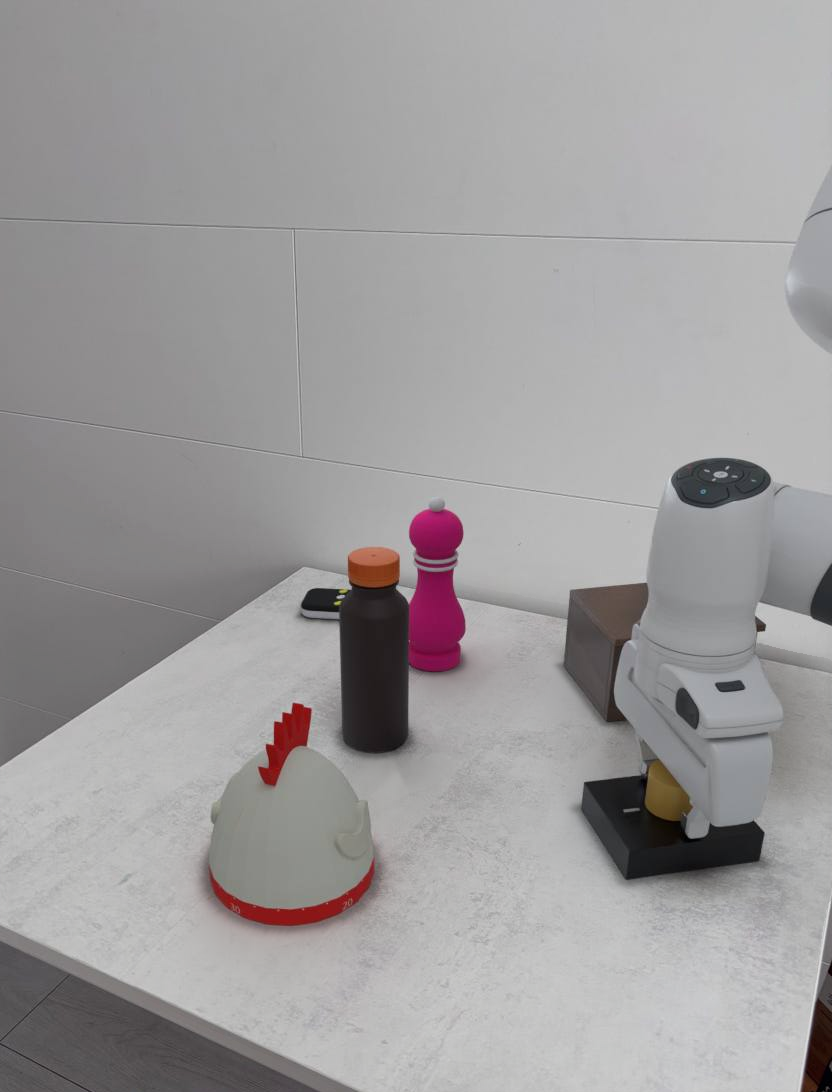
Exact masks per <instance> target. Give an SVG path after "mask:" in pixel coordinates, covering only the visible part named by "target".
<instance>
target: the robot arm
mask: <svg viewBox="0 0 832 1092" xmlns="http://www.w3.org/2000/svg"><path fill="white" fill-rule="evenodd" d="M785 275H786V276H785V283H784V294H785V300H786V303H787V307H788V310H789V312H790V314H791V316H792V318H793V319H794V321H795V323H796V325H798V327H799V328H800V330H802V332H803V333H804V334H805V335H806V336H807V337H808V338H809V339H811V341H813V342H814V343H815V344H816V345H818V346H819V347H820V348H822V349H823V350H824V351H826V353H829V354H830V355H832V164H831V165H830V167H829V169H828V171H827V172H826V175H825V177H824V178H823V180H822V182H821V184H820V186H819V188H818V190H817V192H816V195H815V196H814V199H813V201H812V203H811V205H810V207H809V210H808V212H807V214H806V217H805V219H804V222H803V224H802V227H801V228H800V231H799V234H798V237H797V238H796V242H795V245H794V248H793V250H792V252H791V256H790V259H789V262H788V266H787V271H786V274H785ZM653 524H654V525H653V529H652V535H651V540H650V545H649V551H648V556H647V564H646V570H645V571H646V573H645V576H646V577H645V579H646V583H647V586H648V591H649V597H648V603H647V606H646V608H645V610H644V612H643V615H642V617H641V620H639V621H638V622H637V623H636V624H634V626H633V629H632V637H631V640H629V641H627V642H626V643H625V644H624V646H623V649H622V651H621V655H620V659H619V664H618V669H617V674H616V679H615V685H614V697H615V702H616V706H617V707H618V708H619V710H620V711H621V712H622V713H623V715H624V716H625V717H626V718H627V721H628V722H629V723H630V725H631V726H632V727H633V728H634V729H635V740H636V745H637V750H638V757H639V761H638V768H637V769H638V773H639V775H642V776H643V777H644V779H645V780H646V781H647V782H648V775H649V768H650V765H651V764H652V763H653V762H655V761H657V760H660V761H661V762H662V763H663V764H664V766H665V767H666V768H667V769H668V771H669V772H670V773H671V774H672V776H673V777H674V778H675V779H676V781H677V782H678V783H679V784H680V786H681V787H682V788H683V789H684V791H685V792H686V793H687V794H688V796H689V797H690V804H691V805H692V806H693V808H692V810H691V811H683V812H682V816H681V822H680V826H681V828H682V829H683V831H684V832H685V833H686V835H687V836H688V837H689V838H691V839H693V838H701V837H705V836H706V835H707V834H708V830H709V824H710V823H711V824H712V825H713V826H716V827H723V826H732V825H739V824H746V823H749V822H752V821H753V820H754V821H755V820H756V819H758V818H759V817H760V816H761V814H762V812H763V809H764V806H765V802H766V798H767V793H768V789H769V785H770V780H771V775H772V768H773V761H774V746H773V745H774V744H773V740H772V737H771V734H770V732H775V731H779V730H780V729H781V727H782V723H783V721H784V720H783V719H784V708H783V706H782V704H781V702H780V700H779V699H778V697H777V695H776V694H775V692H774V690H773V689H772V687H771V685H770V683H769V681H768V679H767V677H766V675H765V673H764V670H763V669H762V665H761V662H760V659H759V657H758V656H757V655H756V654H755V650H754V648H755V649H756V645H755V642H756V643H757V639H756V636H757V637H758V634H757V633H758V632H757V630H756V624H755V616H756V611H757V608H758V604H759V603H761V604H765V605H768V606H771V607H775V608H779V609H782V610H787V611H790V612H793V613H795V614H800V615H804V616H807V617H811V619H813V620H814V621H817V622H820V623H823V624H825V625H828V626H830V627H832V494H828V493H824V492H818V491H814V490H809V489H805V488H804V489H803V488H799V487H794V486H792V485H789V484H785V483H780V482H775V481H773V478H772V476H771V474H770V472H769V471H767V470H766V469H765V468H763V467H762V466H761V465H758V464H757V463H755V462H752V461H748V460H745V459H739V458H734V457H711V458H703V459H698V460H695V461H692V462H689V463H686V464H684V465H681V466H680V467H679V468H678V469H676V470H674V471H673V472H672V474H671V475H670V476H669V479H668V480H667V482H666V484H665V487H664V490H663V493H662V495H661V499H660V502H659V504H658V508H657V513H656V516H655V521H654V523H653Z"/></svg>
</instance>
